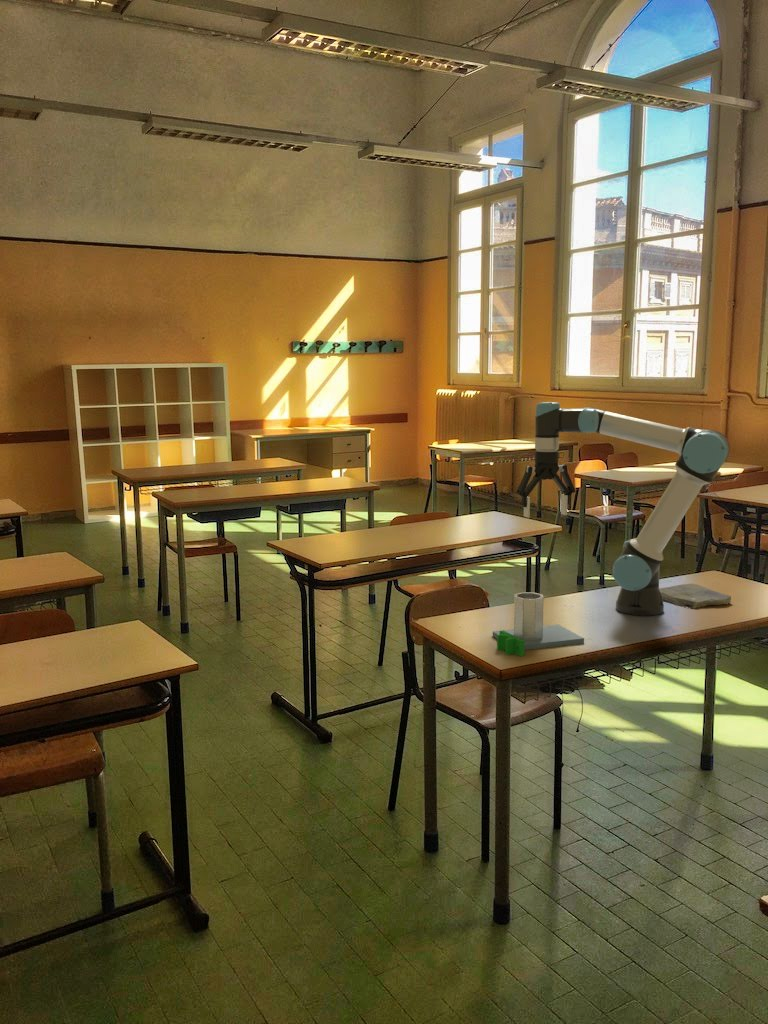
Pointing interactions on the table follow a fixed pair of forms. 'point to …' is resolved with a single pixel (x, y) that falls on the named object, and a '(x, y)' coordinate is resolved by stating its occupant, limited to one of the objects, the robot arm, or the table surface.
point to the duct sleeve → (528, 616)
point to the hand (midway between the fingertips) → (545, 515)
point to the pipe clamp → (510, 644)
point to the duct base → (549, 637)
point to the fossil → (693, 596)
